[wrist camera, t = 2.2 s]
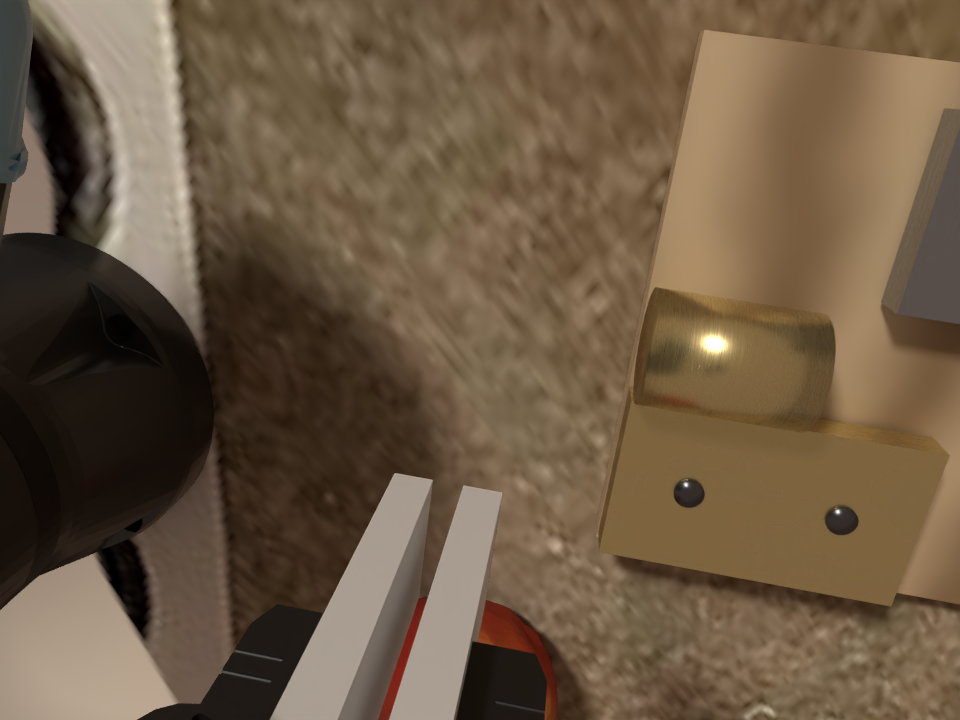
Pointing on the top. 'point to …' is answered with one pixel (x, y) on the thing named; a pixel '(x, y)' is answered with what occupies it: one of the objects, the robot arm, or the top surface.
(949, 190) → the fixed leaf
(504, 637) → the tomato
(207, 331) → the top surface
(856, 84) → the board
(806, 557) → the loose leaf
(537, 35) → the top surface
